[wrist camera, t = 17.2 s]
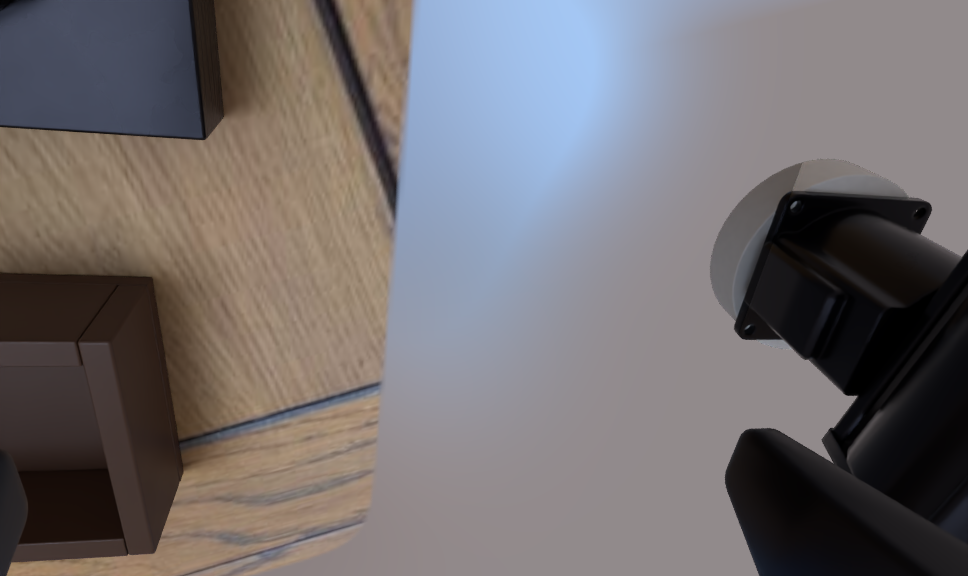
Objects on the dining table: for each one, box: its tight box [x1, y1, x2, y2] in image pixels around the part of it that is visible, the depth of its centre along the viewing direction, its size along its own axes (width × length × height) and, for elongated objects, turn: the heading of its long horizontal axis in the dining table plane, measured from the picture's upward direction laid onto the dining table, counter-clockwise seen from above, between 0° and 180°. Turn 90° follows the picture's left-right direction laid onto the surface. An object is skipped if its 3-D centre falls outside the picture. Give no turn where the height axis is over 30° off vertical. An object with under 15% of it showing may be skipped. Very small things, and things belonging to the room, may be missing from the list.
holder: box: [0, 274, 183, 562], centre depth 18 cm, size 8×8×4 cm
